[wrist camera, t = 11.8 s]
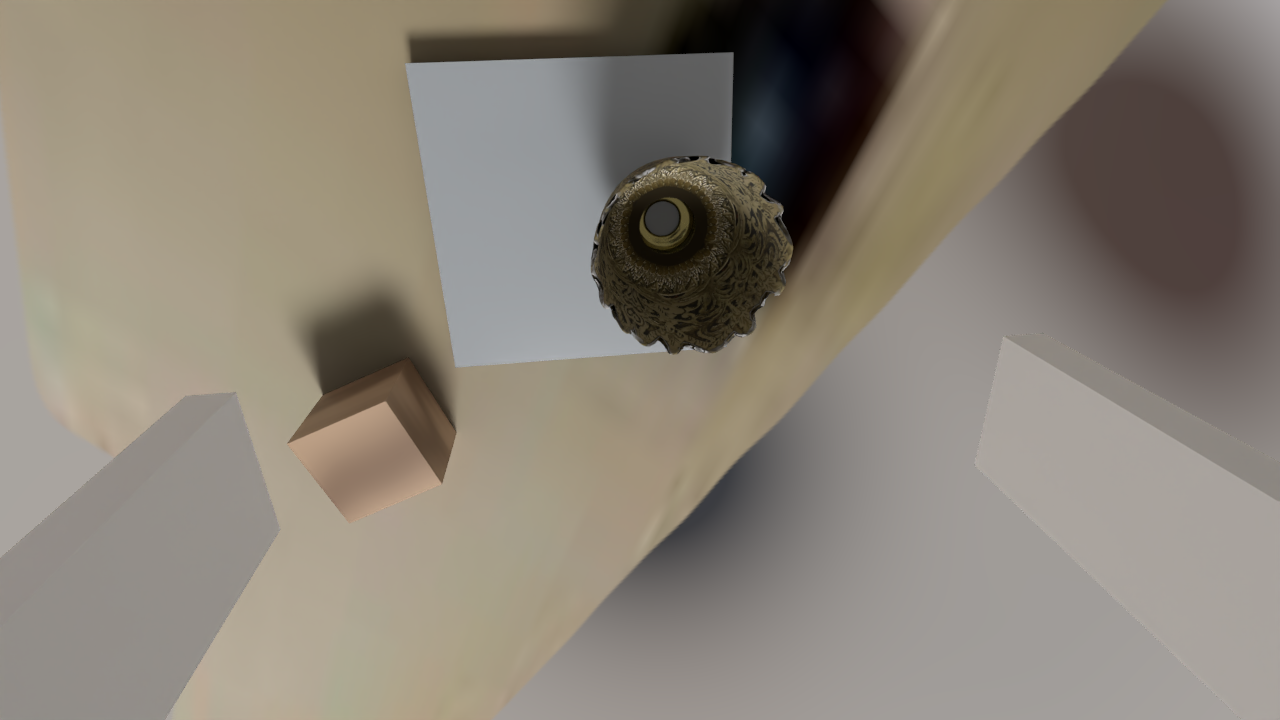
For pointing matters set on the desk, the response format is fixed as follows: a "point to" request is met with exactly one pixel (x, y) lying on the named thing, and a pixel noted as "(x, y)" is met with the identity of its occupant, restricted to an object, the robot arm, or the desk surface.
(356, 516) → the tan cube
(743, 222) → the dark brown round vessel
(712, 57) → the plate
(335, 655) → the desk surface
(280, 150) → the desk surface
